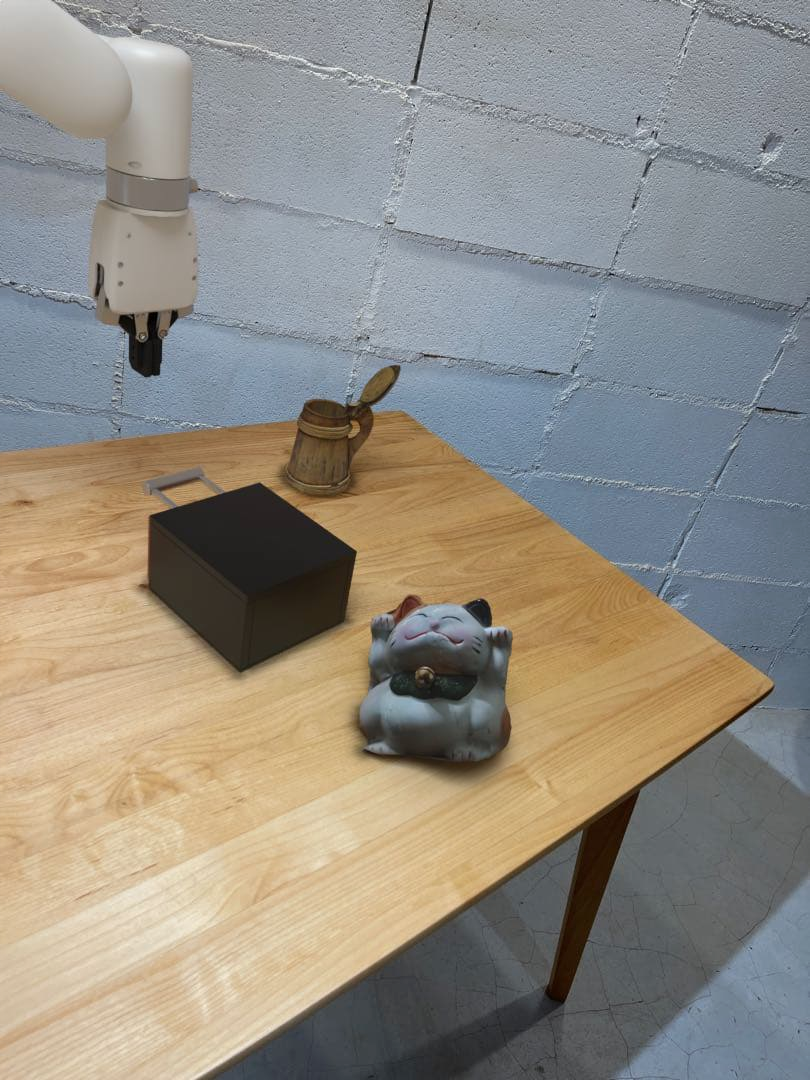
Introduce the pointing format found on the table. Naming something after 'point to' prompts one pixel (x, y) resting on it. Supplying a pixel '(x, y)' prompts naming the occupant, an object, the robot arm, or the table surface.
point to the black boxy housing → (249, 573)
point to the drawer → (173, 482)
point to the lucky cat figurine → (437, 682)
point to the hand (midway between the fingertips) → (145, 371)
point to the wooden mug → (334, 437)
